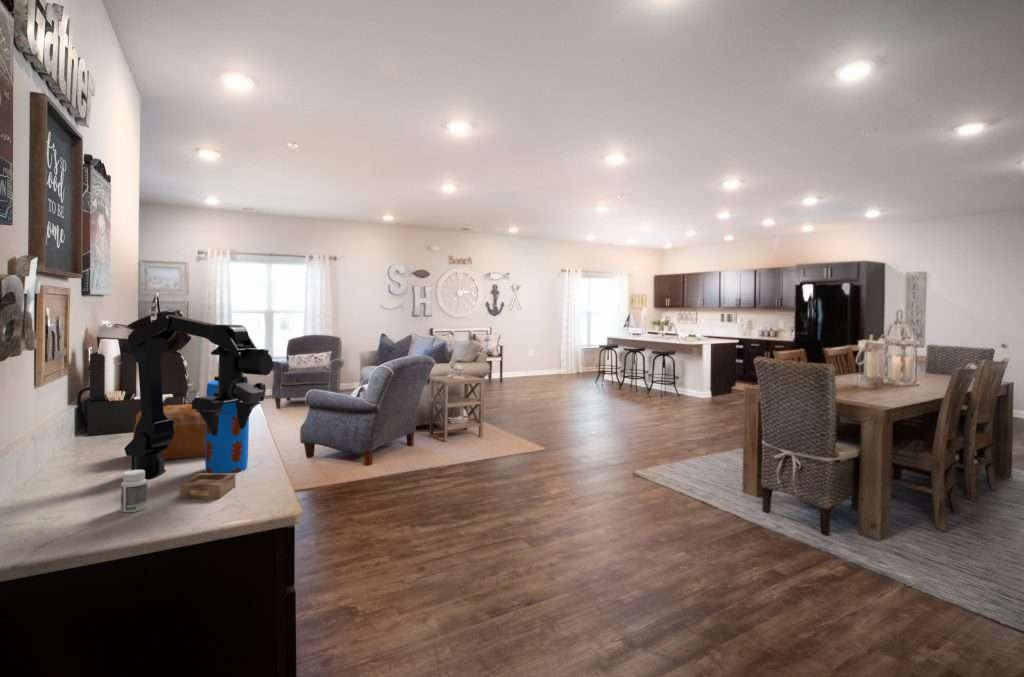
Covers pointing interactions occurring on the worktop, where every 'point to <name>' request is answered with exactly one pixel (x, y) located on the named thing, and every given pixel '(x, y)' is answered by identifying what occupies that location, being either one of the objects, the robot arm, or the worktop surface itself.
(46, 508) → the worktop surface
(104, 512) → the worktop surface
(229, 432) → the thermos
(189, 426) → the bread
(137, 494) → the pill bottle
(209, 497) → the wooden tray
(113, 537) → the worktop surface
